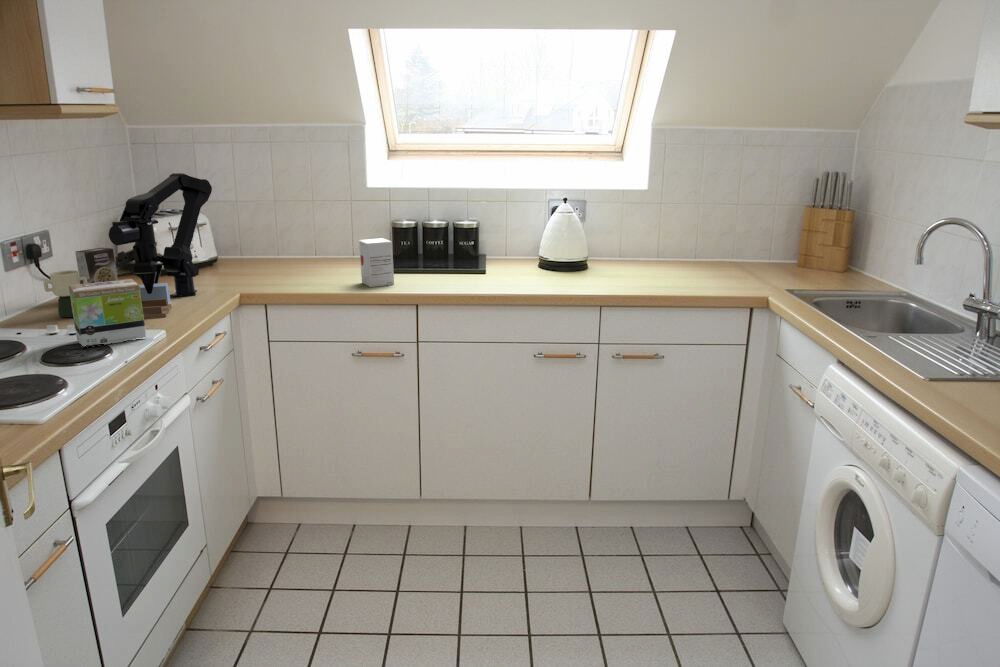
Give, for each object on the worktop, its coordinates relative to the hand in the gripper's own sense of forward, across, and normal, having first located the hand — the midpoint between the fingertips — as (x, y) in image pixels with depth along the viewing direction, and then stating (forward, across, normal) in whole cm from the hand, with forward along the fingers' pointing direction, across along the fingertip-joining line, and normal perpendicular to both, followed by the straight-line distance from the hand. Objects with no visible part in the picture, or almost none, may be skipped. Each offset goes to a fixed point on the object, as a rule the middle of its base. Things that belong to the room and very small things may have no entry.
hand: (152, 290), depth 229 cm
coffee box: (+4, -12, -17) cm, 21 cm away
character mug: (+4, +9, -21) cm, 23 cm away
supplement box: (+5, -7, +70) cm, 70 cm away
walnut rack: (+4, +13, -1) cm, 14 cm away
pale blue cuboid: (+4, 0, 0) cm, 4 cm away
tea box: (+4, +40, -4) cm, 41 cm away
